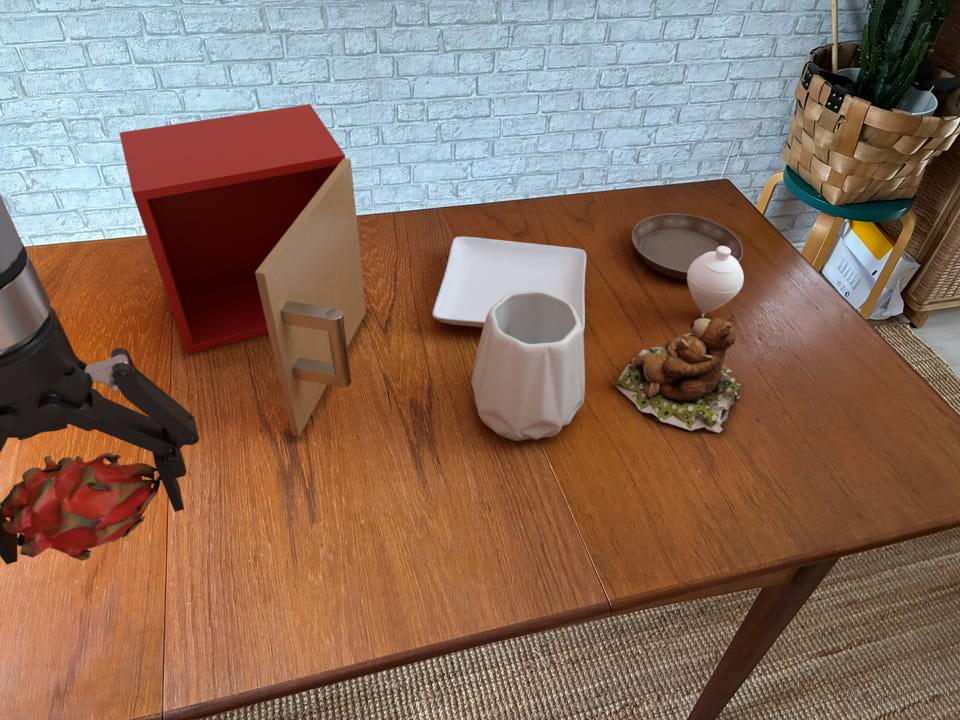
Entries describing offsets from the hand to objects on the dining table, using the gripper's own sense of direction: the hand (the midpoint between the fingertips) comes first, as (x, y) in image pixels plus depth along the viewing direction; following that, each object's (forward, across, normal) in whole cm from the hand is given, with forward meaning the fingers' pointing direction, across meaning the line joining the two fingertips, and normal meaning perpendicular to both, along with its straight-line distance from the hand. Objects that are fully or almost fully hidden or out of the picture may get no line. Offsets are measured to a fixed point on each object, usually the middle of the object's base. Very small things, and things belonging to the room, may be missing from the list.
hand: (97, 523), depth 59 cm
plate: (+13, -55, -30) cm, 64 cm away
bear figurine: (+13, -66, -4) cm, 68 cm away
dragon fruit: (+1, 0, 0) cm, 1 cm away
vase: (+13, -46, -8) cm, 49 cm away
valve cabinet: (+14, -21, -43) cm, 50 cm away
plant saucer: (+13, -86, -29) cm, 92 cm away
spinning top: (+13, -79, -15) cm, 82 cm away
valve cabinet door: (+13, -29, -23) cm, 39 cm away
